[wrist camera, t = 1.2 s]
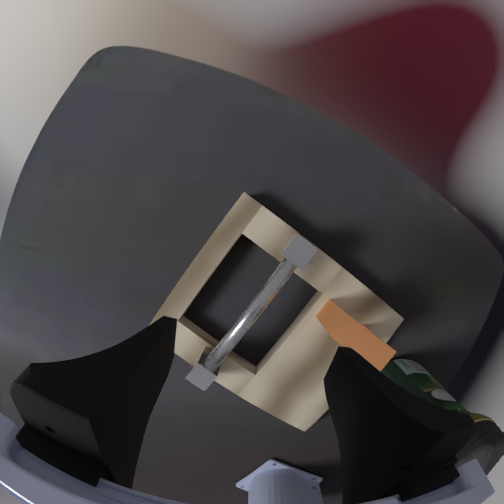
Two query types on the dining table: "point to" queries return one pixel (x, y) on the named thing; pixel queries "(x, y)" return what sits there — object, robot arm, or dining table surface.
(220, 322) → the dining table surface
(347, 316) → the orange u-shaped bracket
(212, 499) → the dining table surface
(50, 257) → the dining table surface
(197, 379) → the threaded rod assembly
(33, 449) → the robot arm
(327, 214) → the dining table surface
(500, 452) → the coffee jar
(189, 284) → the beige board with cutout
